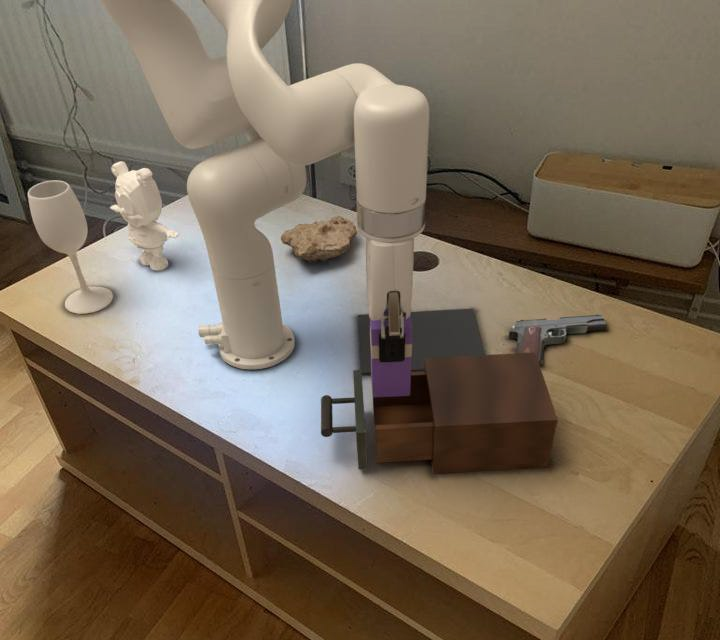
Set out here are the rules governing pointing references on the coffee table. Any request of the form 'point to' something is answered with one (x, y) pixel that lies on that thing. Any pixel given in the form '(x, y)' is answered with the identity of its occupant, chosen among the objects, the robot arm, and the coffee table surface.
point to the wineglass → (65, 237)
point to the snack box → (390, 364)
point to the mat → (430, 337)
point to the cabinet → (489, 413)
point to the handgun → (551, 332)
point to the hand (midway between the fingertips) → (390, 346)
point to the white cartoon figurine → (142, 213)
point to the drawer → (389, 422)
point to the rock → (320, 239)
